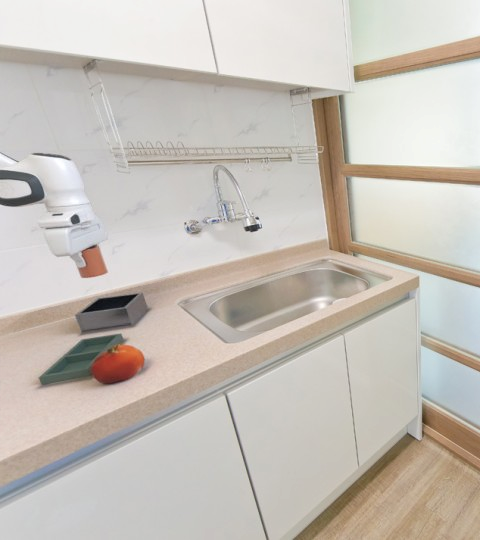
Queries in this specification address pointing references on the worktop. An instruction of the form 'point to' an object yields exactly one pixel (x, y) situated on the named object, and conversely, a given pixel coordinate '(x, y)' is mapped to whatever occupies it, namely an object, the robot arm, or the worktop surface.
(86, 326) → the basin
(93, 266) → the cup
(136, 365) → the tomato
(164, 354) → the worktop surface
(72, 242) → the robot arm
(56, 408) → the worktop surface
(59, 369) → the tray
